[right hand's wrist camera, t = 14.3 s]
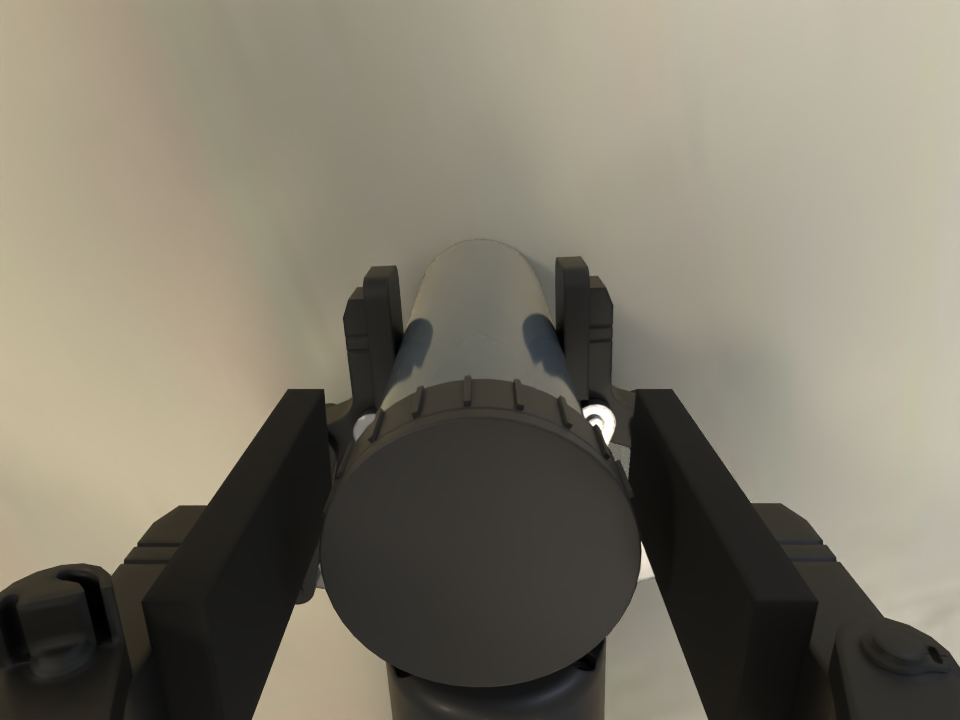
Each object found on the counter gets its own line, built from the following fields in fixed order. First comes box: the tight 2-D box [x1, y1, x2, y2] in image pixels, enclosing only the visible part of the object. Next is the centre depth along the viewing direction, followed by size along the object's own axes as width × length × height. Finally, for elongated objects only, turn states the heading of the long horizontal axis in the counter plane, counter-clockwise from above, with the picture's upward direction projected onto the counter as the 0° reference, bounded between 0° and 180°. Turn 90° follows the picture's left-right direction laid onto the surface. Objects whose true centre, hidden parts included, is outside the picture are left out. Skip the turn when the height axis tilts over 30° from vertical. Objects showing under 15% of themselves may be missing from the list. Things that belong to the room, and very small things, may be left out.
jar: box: [378, 239, 586, 419], centre depth 19 cm, size 5×5×16 cm
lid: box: [319, 375, 642, 687], centre depth 12 cm, size 5×5×2 cm
